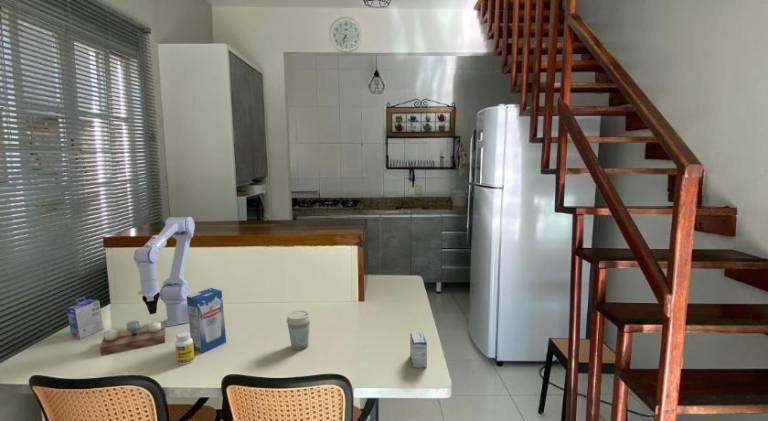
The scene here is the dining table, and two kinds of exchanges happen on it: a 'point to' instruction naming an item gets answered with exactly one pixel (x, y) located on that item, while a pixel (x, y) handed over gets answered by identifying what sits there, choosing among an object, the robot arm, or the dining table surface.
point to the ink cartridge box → (84, 318)
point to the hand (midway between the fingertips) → (153, 313)
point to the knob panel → (133, 340)
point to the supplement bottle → (184, 348)
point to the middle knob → (133, 326)
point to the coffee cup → (299, 329)
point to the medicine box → (418, 349)
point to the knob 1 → (111, 335)
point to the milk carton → (206, 319)
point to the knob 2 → (154, 327)
